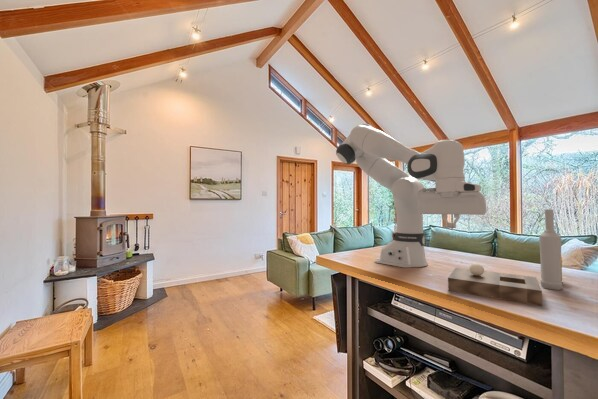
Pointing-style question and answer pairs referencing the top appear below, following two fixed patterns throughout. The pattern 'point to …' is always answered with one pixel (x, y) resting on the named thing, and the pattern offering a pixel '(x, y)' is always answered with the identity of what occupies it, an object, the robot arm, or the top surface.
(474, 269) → the ball
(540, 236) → the bottle
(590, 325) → the top surface
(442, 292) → the top surface
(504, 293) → the board
